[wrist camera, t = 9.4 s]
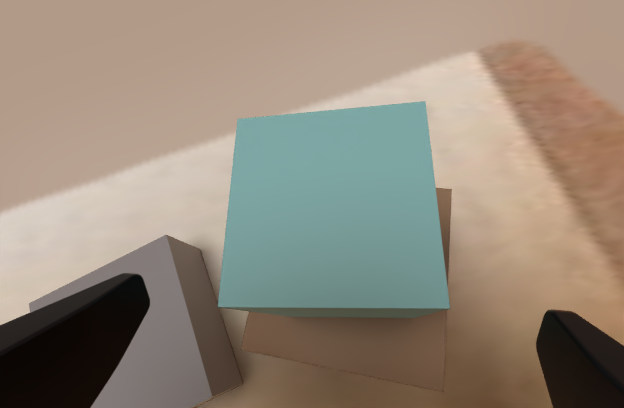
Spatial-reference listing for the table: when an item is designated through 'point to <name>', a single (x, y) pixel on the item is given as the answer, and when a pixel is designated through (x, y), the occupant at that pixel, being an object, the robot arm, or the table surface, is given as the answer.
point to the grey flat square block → (166, 331)
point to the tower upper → (362, 336)
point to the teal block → (334, 216)
